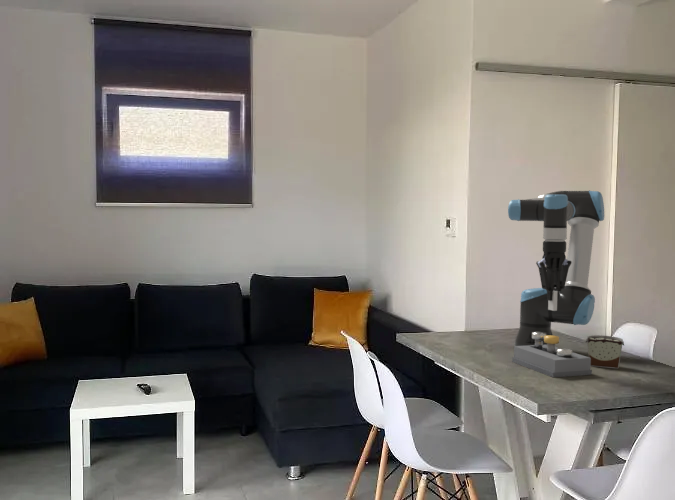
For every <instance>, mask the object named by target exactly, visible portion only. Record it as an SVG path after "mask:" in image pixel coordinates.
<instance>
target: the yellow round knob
mask: <svg viewBox="0 0 675 500" xmlns="http://www.w3.org/2000/svg"><path fill="white" fill-rule="evenodd" d="M544 342H545V343H547V352H548V353H551V354H554V355H555V347H556V344H559V343H560V336H558V335H553V334H552V335H545V336H544Z"/></svg>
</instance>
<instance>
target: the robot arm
mask: <svg viewBox="0 0 675 500" xmlns="http://www.w3.org/2000/svg"><path fill="white" fill-rule="evenodd" d="M603 197H604V196H603V194H602V193H601V192H600V191H597V190H558V191H554V192H553V191H552V192H549V193H544V194H541V195H539V196H538V197H534V198H527V199H519V198H518V199H511V200H510V201H509V203H508V207H507V214H508V215H507V216H508V218H509V220H511V221H518V222H524V221H525V222H543V230H542V231H543V234H542V235H543V236H542V239H543V242H542V252H543V255H542V259H541V260H538V261H536V263H535V264H536V266H537V268H538V271H539V272H538V273H539V278H540V285H541V287H533V288H527V289H524V290H522V292H521V293H520V301H519V302H520V309H519V314H520V315H519V328H518V331H517V333H516V337H515V339H514V346H528V345H535V339H532V332H544V333H546V335H553V332H552V323H557V324H567V325H573V326H577V325H578V326H580V325H581V326H585V325H586V326H587V325H588V324H589V323H590V321H591V320H592V317H593V314H594V310H595V303H596V301H595V300H596V299H595V298H596V297H595V296H594V294H592V290H591V288H589V286H588V284H589V276H590V267H591V261H592V260H591V259H592V251H593V250H592V249H593V243H594V234H595V229H596V228H598V227H599V226H600V222H602V221H604V220H605V205H604V204H605V203H604V198H603ZM568 225H569V226H570V234H569V241H568V247H567V242H566V240H567V232H568V229H567V228H568V227H567V226H568ZM566 252H567V256H566ZM543 345H547V343H545V342H544V340H543Z"/></svg>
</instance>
